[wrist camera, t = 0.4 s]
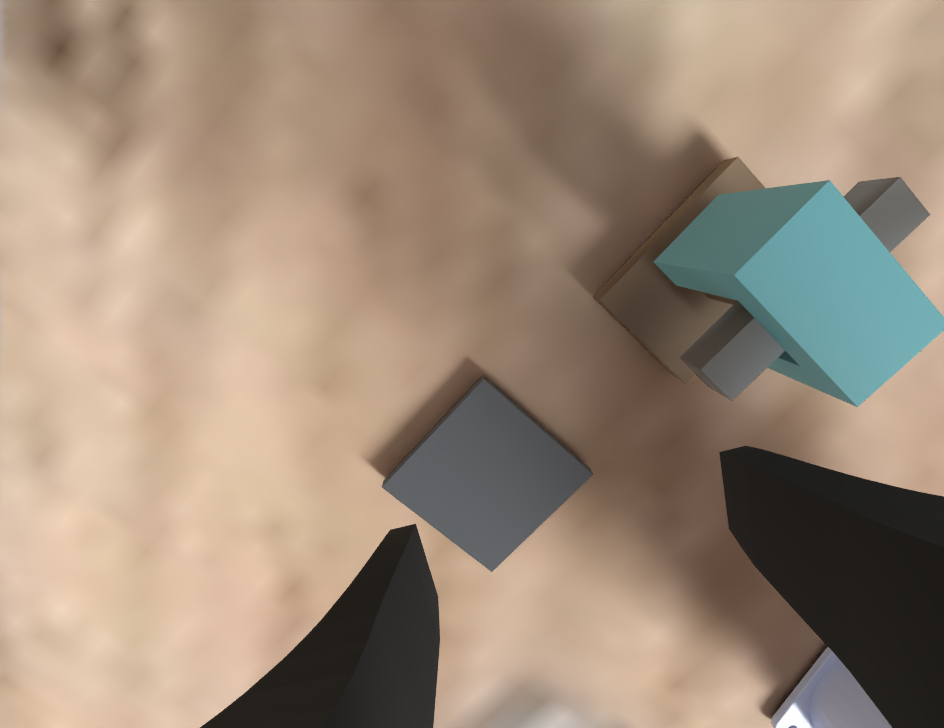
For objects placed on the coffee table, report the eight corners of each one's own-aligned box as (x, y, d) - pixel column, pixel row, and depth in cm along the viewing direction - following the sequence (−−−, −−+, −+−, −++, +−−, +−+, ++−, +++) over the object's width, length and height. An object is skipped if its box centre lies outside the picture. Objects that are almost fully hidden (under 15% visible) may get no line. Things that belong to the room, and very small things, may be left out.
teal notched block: (812, 298, 18) (949, 324, 13) (748, 359, 19) (857, 406, 14) (718, 194, 17) (829, 180, 12) (653, 262, 18) (733, 274, 13)
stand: (803, 250, 20) (966, 261, 14) (674, 376, 22) (770, 438, 15) (723, 160, 19) (860, 126, 13) (593, 296, 21) (658, 328, 14)
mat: (589, 468, 23) (593, 474, 22) (490, 563, 24) (491, 571, 23) (483, 375, 21) (483, 379, 21) (383, 480, 22) (381, 487, 22)
